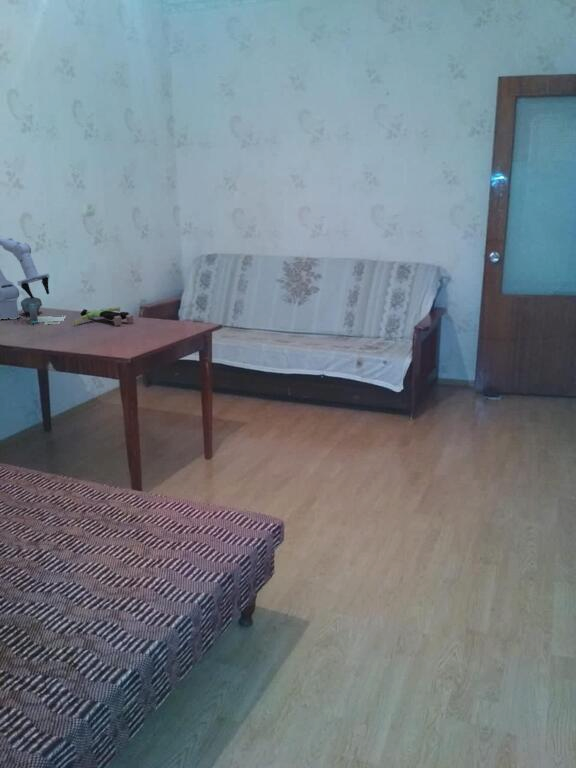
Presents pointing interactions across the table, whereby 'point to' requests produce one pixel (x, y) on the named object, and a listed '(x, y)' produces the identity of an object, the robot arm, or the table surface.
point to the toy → (105, 315)
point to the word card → (51, 323)
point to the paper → (50, 319)
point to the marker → (33, 314)
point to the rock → (28, 301)
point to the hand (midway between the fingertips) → (40, 296)
